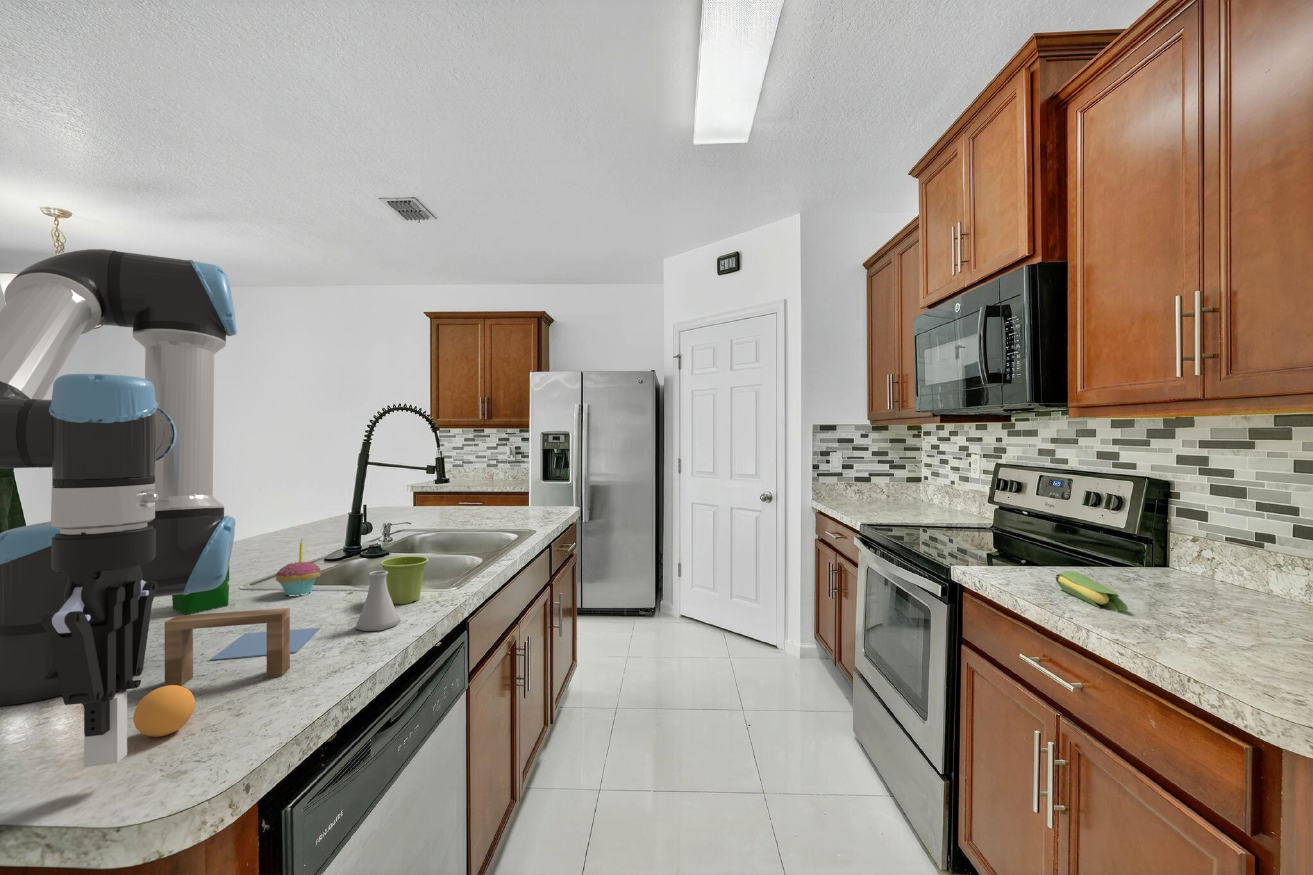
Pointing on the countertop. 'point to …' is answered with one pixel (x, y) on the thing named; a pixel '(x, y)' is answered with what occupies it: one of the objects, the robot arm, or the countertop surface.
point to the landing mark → (262, 644)
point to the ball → (164, 710)
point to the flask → (377, 605)
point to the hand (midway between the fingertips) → (106, 760)
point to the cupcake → (298, 576)
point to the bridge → (182, 626)
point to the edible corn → (1089, 591)
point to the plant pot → (404, 578)
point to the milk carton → (203, 599)
